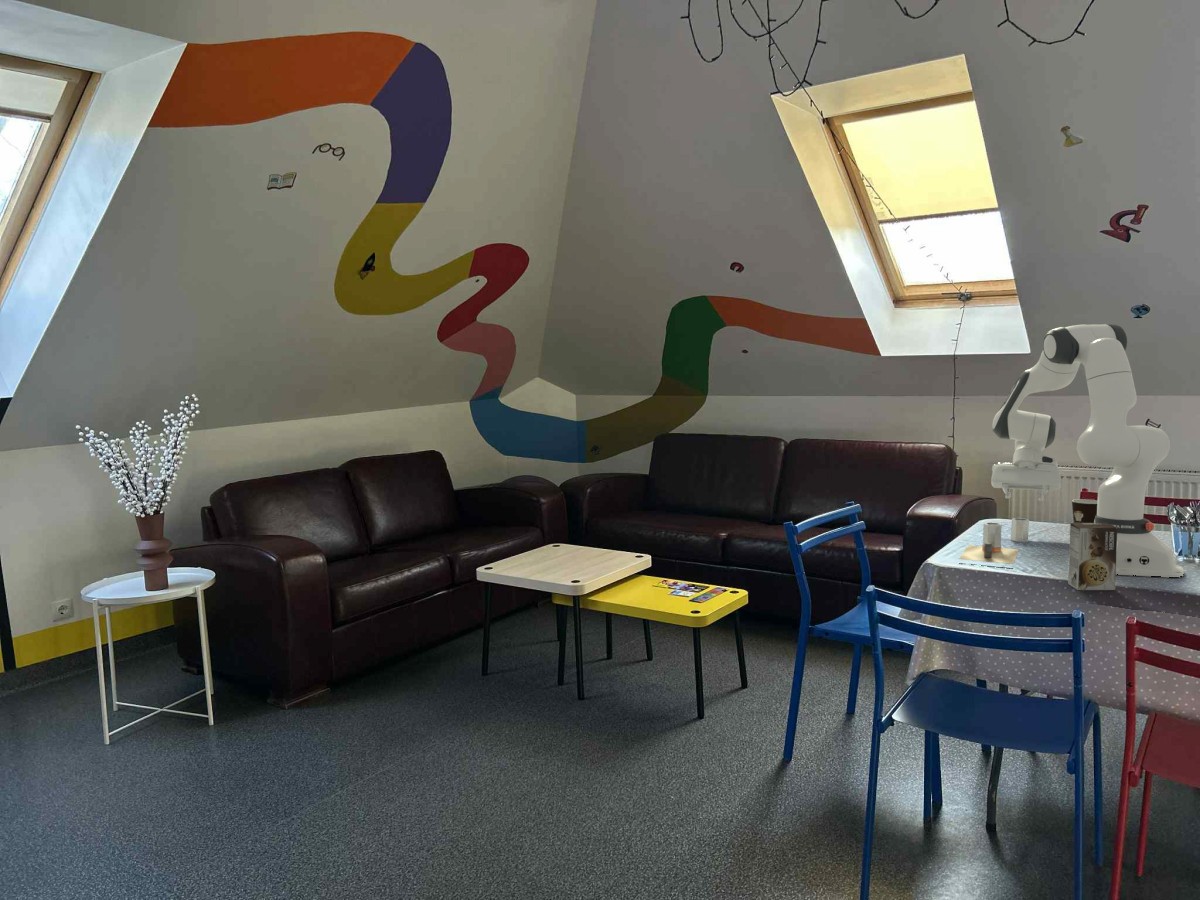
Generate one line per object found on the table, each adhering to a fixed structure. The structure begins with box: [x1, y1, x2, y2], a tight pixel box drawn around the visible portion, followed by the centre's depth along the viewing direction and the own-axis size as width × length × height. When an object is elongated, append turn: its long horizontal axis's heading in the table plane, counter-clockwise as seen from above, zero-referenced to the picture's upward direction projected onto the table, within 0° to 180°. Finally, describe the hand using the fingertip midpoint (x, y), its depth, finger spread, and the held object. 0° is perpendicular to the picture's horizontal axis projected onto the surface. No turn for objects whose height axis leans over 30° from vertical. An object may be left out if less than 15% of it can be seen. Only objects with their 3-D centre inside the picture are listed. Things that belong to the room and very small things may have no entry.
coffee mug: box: [1071, 498, 1098, 523], centre depth 296 cm, size 12×9×10 cm
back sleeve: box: [981, 521, 1002, 553], centre depth 265 cm, size 5×5×8 cm
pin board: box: [958, 543, 1020, 570], centre depth 261 cm, size 14×20×6 cm
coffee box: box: [1067, 522, 1117, 591], centre depth 229 cm, size 9×6×16 cm
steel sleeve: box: [1010, 517, 1030, 543], centre depth 279 cm, size 5×5×8 cm
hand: (1023, 498), depth 287 cm, fingers open, 8 cm apart
